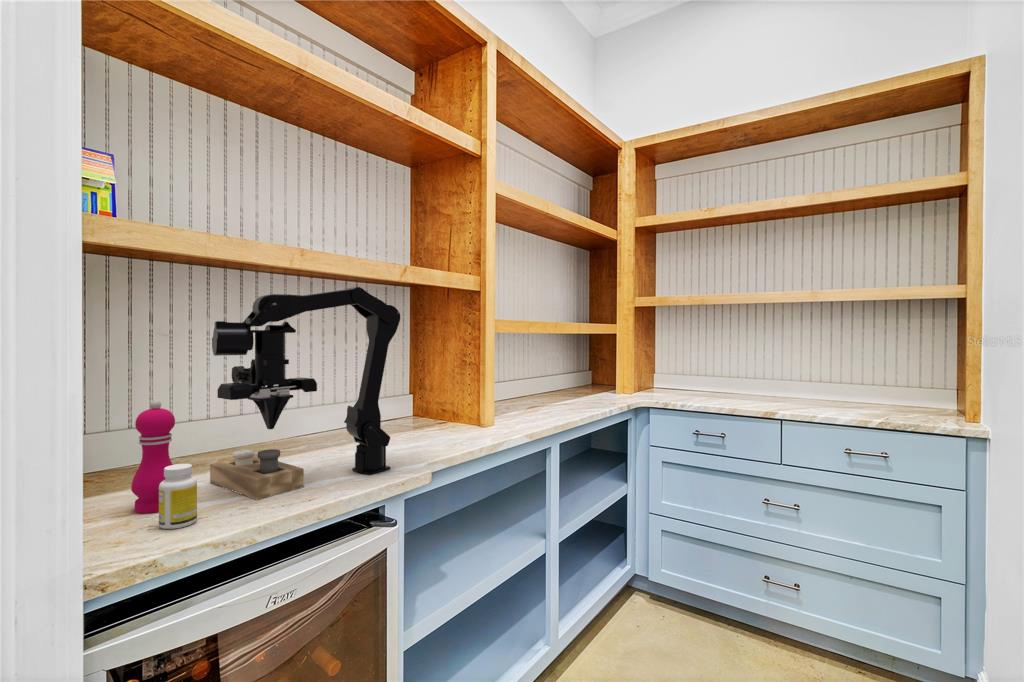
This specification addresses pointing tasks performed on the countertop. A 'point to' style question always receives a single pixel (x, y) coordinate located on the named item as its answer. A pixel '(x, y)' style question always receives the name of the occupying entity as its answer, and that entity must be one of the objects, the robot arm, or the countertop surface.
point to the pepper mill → (152, 456)
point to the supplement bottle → (177, 497)
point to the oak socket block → (256, 478)
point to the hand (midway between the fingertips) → (270, 429)
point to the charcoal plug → (268, 460)
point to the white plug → (243, 457)
